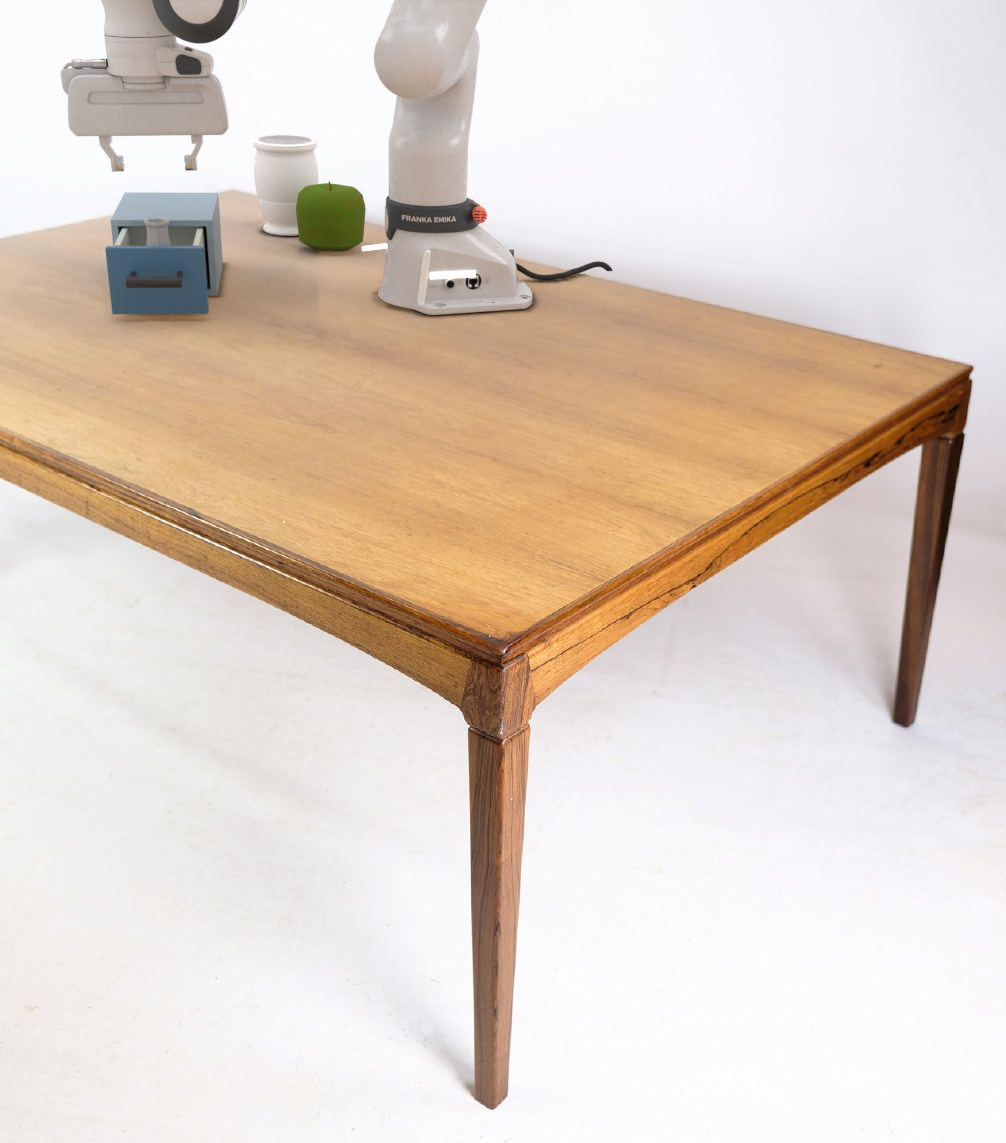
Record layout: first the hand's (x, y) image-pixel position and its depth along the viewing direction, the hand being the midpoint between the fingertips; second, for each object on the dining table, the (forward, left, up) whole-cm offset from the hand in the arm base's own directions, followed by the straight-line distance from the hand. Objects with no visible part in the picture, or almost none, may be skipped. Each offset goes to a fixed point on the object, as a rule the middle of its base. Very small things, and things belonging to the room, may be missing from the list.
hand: (155, 170), depth 171 cm
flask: (0, 0, -17) cm, 17 cm away
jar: (-17, -44, -19) cm, 51 cm away
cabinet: (0, -14, -19) cm, 24 cm away
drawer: (0, 0, -18) cm, 18 cm away
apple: (-24, -32, -19) cm, 44 cm away
